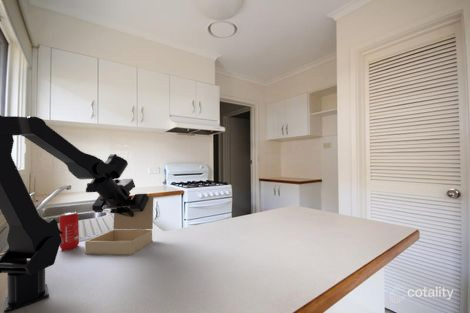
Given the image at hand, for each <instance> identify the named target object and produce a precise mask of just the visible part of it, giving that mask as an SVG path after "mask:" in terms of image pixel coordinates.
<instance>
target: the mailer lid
mask: <svg viewBox="0 0 470 313" xmlns="http://www.w3.org/2000/svg"><path fill="white" fill-rule="evenodd" d="M131 196H132V195H131ZM134 196H135V195H133V196H132V198H133V197H134ZM148 197H149V200H148V202H147V204H146V206H145V208H144V210H143V211H142V212H134V216H133V217H128V216H124V215H119V214H114V213H113V225H112V226H113V227H112V228H113V229H112V230H153V227H154V226H153V225H154V224H153V223H154V198H155V197H154V195H148Z"/></svg>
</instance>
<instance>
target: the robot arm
mask: <svg viewBox="0 0 470 313" xmlns="http://www.w3.org/2000/svg"><path fill="white" fill-rule="evenodd" d="M14 136H21V137H23V138H25V139H26V140H28V141H30V142H32V143H33V144H35V145H36V146H37V147H39V148H41V149H42V150H44V151H45V152H47V153H48V154H50V155H51V156H53V157H54V158H56V159H58V160H59V161H60V162H62V163H64V164H65V166H66V167H67V169H68V172H69V173H71V174H72V175H73V176H74V177H75V178H77V179H78V180H91V181H90V182H88V183H86V187H85V192H86V193H97V194H98V197H97V198H96V199H95V201H94V202H93V204H92V205H91V206H92V209H91V210H92V211H93V212H95V213H99V214H100V213H101V214H102V213H103V212H104V206H106V208H107V210H110V212H109V213H110V214H113V215H114V214H119V215H124V216H128V217H133V216H134V212H142V211H143V210H144V208H145V206H146V204H147V202H148V200H149V197H148V196H149V195H148V194H147V193H135V194H134V195H133V196H134V197H133V198H132V195H131V192H130V191H131V190H133V189H134V188H136V184H135V181H134V180H133V178H122V179H120V177H121V176H122V174H123V173H124V171H125V170H126V168H127V167H128V164H129V162H128V160H127V159H125V158H123V157H122V156H118V155H117V154H116V153H111V154H109V155H108V157H107V159H106V160H105V161H103V159H101V158H99V157H97V156H96V155H92V154H89V153H86V152H84V151H82V150H80V149H79V148H78V147H77V146H75V145H74V144H72V143H71V142H70V141H68V140H67V139H66V138H65V137H63V136H62V135H61V134H60V133H58V132H56V131H55V129H53V128H52V127H50V126H49V125H48V124H47V123H46V122H45V120H44V119H43V118H40V117H37V116H19V115H18V116H11V115H10V116H9V115H8V116H4V115H1V114H0V212H1V214H2V215H3V218H4V219H5V222H6V223H7V225H8V231H7V232H8V233H7V237H6V242H7V244H8V245H7V246H8V249H7V250H6V251H5V252H4V253H3V255H2V256H0V274H7V280H6V281H7V282H6V284H7V296H6V297H5V300H4V308H3V313H7V312H10V311H13V310H16V309H19V308H22V307H24V306H27V305H30V304H32V303H35V302H37V301H40V300H43V299H46V298H48V297H49V296H50V292H49V287H48V284H47V283H46V269H47V268H49V267H51V266H53V265H55V262H56V259H57V255H58V252H59V249H60V244H61V243H62V239H61V235H60V234H63V232H61V231H60V227H59V225H58V221H57V220H56V219H55V218H43V217H42V216H41V215H40V214H39V212H38V209H37V207H36V205H35V202H34V201H33V199H32V196H31V194H30V192H29V190H28V187H27V186H26V184H25V182H24V180H23V178H22V175H21V173H20V172H19V170H18V167H17V166H16V162H15V161H14V159H13V156H12V153H13V152H12V151H13V148H14V142H15V141H14V140H15V139H14Z"/></svg>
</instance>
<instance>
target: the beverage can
mask: <svg viewBox="0 0 470 313" xmlns="http://www.w3.org/2000/svg"><path fill="white" fill-rule="evenodd" d="M59 215H60V216H59V221H58V223H59V229H60V231H61V232H63V234H60V235H61V239H62V243H61V244H60V246H59V249H61V251H62V252H67V251H71V250H75V249H76V248H77V249H78V246H79V244H80V234H79V233H80V232H79V231H80V230H79V228H80V227H79V226H80V224H79V214H78V212H77V211H74V212H73V211H72V212H71V211H70V212H65V213H62V214H61V213H60V214H59Z"/></svg>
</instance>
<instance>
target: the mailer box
mask: <svg viewBox="0 0 470 313" xmlns="http://www.w3.org/2000/svg"><path fill="white" fill-rule="evenodd" d="M152 242H153V229H112V230H109V231H107V232H105V233H102V234H100V235H97V236H95V237H92V238H90V239H88V240H86V241H85V242H84V245H85V246H84V247H85V251H84V252H85V255H100V256H101V255H102V256H105V255H106V256H107V255H108V256H132V255H133V254H134V253H136V252H137V251H139V250H141V249H142V248H144V247H146V246H147V245H149V244H150V243H152Z"/></svg>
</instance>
